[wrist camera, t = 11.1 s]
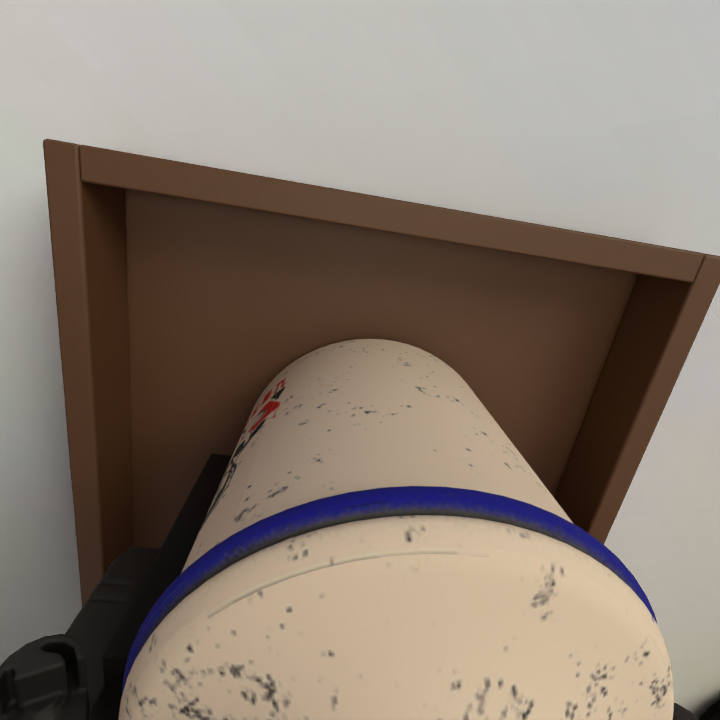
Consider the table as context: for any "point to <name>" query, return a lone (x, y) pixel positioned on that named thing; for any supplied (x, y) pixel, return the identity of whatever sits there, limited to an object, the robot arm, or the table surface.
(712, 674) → the table surface
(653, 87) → the table surface
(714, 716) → the coffee jar
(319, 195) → the tray
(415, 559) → the teacup with lid
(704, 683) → the table surface
